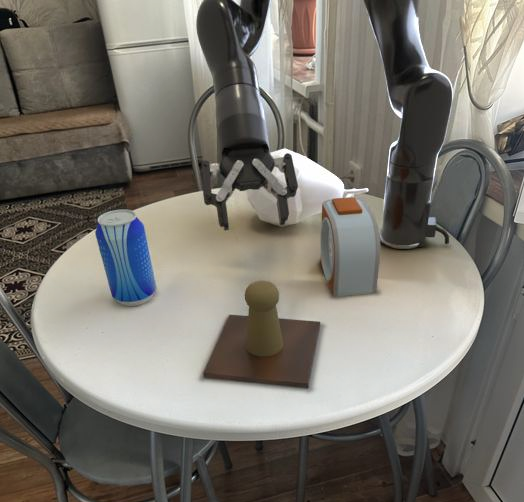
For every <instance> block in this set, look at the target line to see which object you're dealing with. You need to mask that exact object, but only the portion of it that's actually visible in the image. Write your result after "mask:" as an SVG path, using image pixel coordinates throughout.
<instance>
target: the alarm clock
mask: <svg viewBox="0 0 524 502" xmlns="http://www.w3.org/2000/svg"><path fill="white" fill-rule="evenodd" d="M320 225H321V226H320V262H319V263H320V265H321V268H322V271H323V274H324V277H325V280H326V281H327V284H328V286H329V289H330V292H331V294H332V296H333V298H334V297H345V296H346V297H347V296H356V295H357V296H358V295H370V294H376V293H377V289H378V282H379V271H380V262H381V241H380V230H379V224H378V220H377V218H376V216H375V214H374V212H373V211H372V209H371V208H370V206H369V205H368V204H367V202H366V200H365V199H363V198H360V197H354V196H353V197H347V198H346V197H342V198H334V199H331V200H326V201H324V202H323V203H322V212H321V224H320Z"/></svg>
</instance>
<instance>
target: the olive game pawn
mask: <svg viewBox="0 0 524 502" xmlns="http://www.w3.org/2000/svg"><path fill="white" fill-rule="evenodd" d="M243 296H244V301H245V304H246V305H247V307H248V312H247V314H248V315H247V316H248V324H247V337H246V349H247V351H248V352H250V353H251V354H253V355H255V356H260V357H264V356H271V355H274V354H276V353H278V352H279V351H280V350H281V349H282V347H283V340H282V335H281V329H280V324H279V319H278V318H279V315H278V309H277V305H278V303H279V300H280V291H279V288H278V286H277V285H276V284H275V283H274V282H272V281H268V280H257V281H253V282H251V283H249V284H248V285H247V287H246V288H245V291H244V295H243Z"/></svg>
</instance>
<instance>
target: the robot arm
mask: <svg viewBox="0 0 524 502" xmlns="http://www.w3.org/2000/svg"><path fill="white" fill-rule="evenodd" d="M362 2H363V3H364V6H365V10H366V12H367V16H368V19H369V22H370V25H371V29H372V32H373V34H374V38H375V40H376V44H377V46H378V48H379V53H380V57H381V61H382V66H383V72H384V77H385V83H386V88H387V93H388V94H387V95H388V99H389V103H390V106H391V108H392V110H393V111H394V113H395V114H396V115H397V116H398V117H399V118H400V119H401V120H400V129H399V133H398V139H397V140H396V141H394V142H393V143H392V144H391V145H390V147H389V154H388V163H387V171H386V181H385V188H384V189H385V190H384V199H383V207H382V208H383V209H382V218H381V224H380V225H381V226H380V232H379V236H380V243H381V244H383V245H384V246H387V247H389V248H393V249H399V250H410V249H411V250H412V249H415V248H424V247H425V242H426V238H433V239H434V238H435V237H436V232H438V233H440V234H442V235H443V237H444V244H445V245H448V244H450V236H449V233H448V232H447V231H446V230H445V229H443V228H441V227H439V226H438V225H437V218H436V217H434V216H430V212H431V207H432V202H431V197H432V191H433V185H434V179H435V175H436V174H435V172H436V167H437V161H438V156H439V153H440V151H441V150H442V148H443V146H444V143H445V140H446V136H447V130H448V126H449V122H450V116H451V112H452V106H453V97H454V91H453V85H452V83H451V80H450V79H449V77H448V76H446V75H445V74H444V73H442V72H440V71H438V70H436V69H432V68H431V67H430V66H429V63H428V60H427V58H426V54H425V51H424V47H423V45H422V41H421V35H420V30H419V29H420V28H419V10H420V0H363V1H362ZM271 4H272V0H240V3H239V4H237V3H236V1H235V0H202V1H201V3H200V5H199V7H198V10H197V13H196V20H195V21H196V22H195V27H196V28H195V29H196V36H197V39H198V43H199V46H200V49H201V51H202V54H203V57H204V60H205V62H206V65H207V67H208V69H209V72H210V74H211V77H212V84H213V92H214V99H215V122H216V124H215V125H216V131H217V137H218V145H219V151H220V152H219V153H220V161H219V163H210V161H208V160H202V162H201V178H202V180H201V181H202V195H203V197H202V198H203V203H204V204H205V205H206V206H210V205H211V206H214V207H215V208H216V212H217V219H218V220H217V221H218V225H219V226H220V228H223V230H224V231H229V230H230V224H229V216H228V208H227V202H228V200H229V199H230V198H231V197H232V195H233V194H234V192H235V190H238V191H239V192H245V191H247V190H248V189H252V190H258V189H260V188H261V187H263V188H264V189H265V190H266V191H267V192H268V193H271V194H272V195H273V196H274V197H275V198H276V199H277V209H278V216H279V223H280V225H285V221H287V220H288V216H289V209H288V202H287V199H288V198H290V197H294V196H295V195H296V191H297V189H298V183H297V179H296V174H295V169H294V165H293V160H292V156H291V154H289V153H286V154H285V155H284V157H280V158H273V157H272V156H271V154H270V153H271V150H270V142H269V137H268V136H269V135H268V128H267V122H266V116H265V114H266V113H265V108H264V104H263V101H262V98H261V92H260V91H261V90H260V85H259V84H260V83H259V75H258V70H257V68H256V65H255V63H254V61H253V60H252V58H251V57H252V56H253V55H254V53H255V52H256V51H257V50H258V47H259V46H260V44H261V41H262V38H263V35H264V31H265V27H266V24H267V19H268V16H269V13H270V8H271ZM274 167H277V168H278V169H279V171H280V172H282V173H284V175H285V180H286V185H287V187H285V188H284V187H283V186H282V185H281V184H280V183H279V182H278V180H277V178H276V177H275V176H274V175H273V174H272V173H271V172H272V171H273V169H274ZM218 173H220V175H221V176H222V177H223V178H224V179H225V180H224V181H223V183H222V185H221V187H220V189H219V191H217V193H213V192H212V180H214V179H216V177H217V174H218Z"/></svg>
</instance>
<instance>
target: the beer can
mask: <svg viewBox="0 0 524 502" xmlns="http://www.w3.org/2000/svg"><path fill="white" fill-rule="evenodd" d="M94 233H95V237H96V242H97V245H98V249H99V254H100V257H101V261H102V264H103V269H104V272H105V276H106V280H107V284H108V287H109V290H110V295H111V297H112V298H113V299H114V301H117V303H118V304H119V305H122V306H127V307H134V306H139V305H144V304H145V303H147V302H149V301H151V299H152V298H153V297H154V294H155V292H156V290H157V284H156V279H155V274H154V269H153V264H152V260H151V254H150V249H149V245H148V244H149V243H148V239H147V234H146V229H145V225H144V223H143V222H142V221H141V220H140V219H139V218H138V216H137V213H136V212H135V211H134V210H130V209H115V210H114V209H113V210H110V211H106V212H103V213H102V214H100V215H99V216H98V217H97V225H96V228H95V232H94Z"/></svg>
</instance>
